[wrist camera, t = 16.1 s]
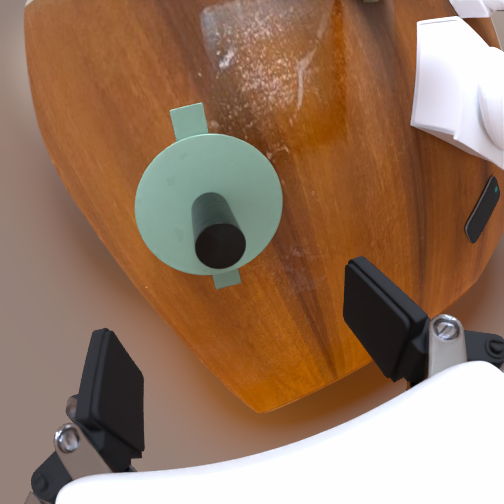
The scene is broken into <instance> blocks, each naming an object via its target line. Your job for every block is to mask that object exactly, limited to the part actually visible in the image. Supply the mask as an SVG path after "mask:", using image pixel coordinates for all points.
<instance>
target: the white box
mask: <svg viewBox="0 0 504 504" xmlns="http://www.w3.org/2000/svg"><path fill="white" fill-rule="evenodd" d="M410 125H411V126H413V127H415V128H418V129H420V130H422V131H425V132H427V133H429V134H431V135H433V136H435V137H437V138H440V139H442V140H444V141H446V142H448V143H450V144H452V145H454V146H455V147H457V148H459V149H461V150H463V151H465V152H467V153H468V154H471V155H474V156H477V157H480V158H482V159H485V160H488V161H490V162H492V163H494V164H495V165H496V166H498V167H499V168H501V169H502V170H504V53H503V52H502V51H501V50H499V49H497V48H494V47H489V46H488V45H487V44H486V43H485V42H484V40H483V39H482V38H481V37H480V36H479V35H478V34H477V33H476V32H475V31H474V30H473V29H472V28H471V27H470V26H469V25H468V24H467V23H466V22H465V21H464V20H462V19H460V18H459V17H447V18H439V19H431V20H425V21H419V22H417V63H416V79H415V90H414V100H413V109H412V116H411V124H410Z"/></svg>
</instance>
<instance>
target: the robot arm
mask: <svg viewBox="0 0 504 504" xmlns="http://www.w3.org/2000/svg"><path fill="white" fill-rule="evenodd" d="M343 317H344V320H345V322H346V324H347V325H348V326H349V328H350V329H351V330H352V332H353V333H354V334H355V336H356V337H357V338H358V340H359V341H360V342H361V344H362V345H363V346H364V348H365V349H366V350H367V352H368V353H369V354H370V356H371V357H372V359H373V360H374V361H375V363H376V364H377V365H378V367H379V368H380V369H381V371H382V372H383V374H384V375H385V376H386V377H387V378H391V379H392V380H393V382H396V381H398V380H400V379H401V378H403V377H404V378H405V379H406V380H407V389H406V392H404V393H402V394H401V395H399V396H397V397H395V398H393V399H392V400H390V401H388V402H386V403H384V404H382V405H380V406H379V407H377V408H375V409H373V410H371V411H369V412H367V413H365V414H363V415H361V416H359V417H357V418H355V419H353V420H350V421H348V422H346V423H343V424H341V425H339V426H337V427H334V428H332V429H329V430H327V431H325V432H322V433H319V434H317V435H314V436H312V437H309V438H306V439H304V440H301V441H298V442H295V443H292V444H289V445H286V446H283V447H279V448H276V449H273V450H270V451H266V452H262V453H259V454H255V455H251V456H247V457H243V458H239V459H234V460H229V461H224V462H220V463H214V464H208V465H203V466H196V467H189V468H181V469H172V470H161V471H148V472H137V471H136V470H135V468H134V467H132V465H131V459H132V458H142V451H144V448H145V445H144V417H143V416H144V413H143V394H144V388H143V387H144V378H143V375H142V373H141V371H140V370H139V368H138V367H137V366H136V364H135V363H134V361H133V360H132V359H131V357H130V356H129V354H128V353H127V352H126V350H125V348H124V347H123V345H122V344H121V343H120V341H119V339H118V338H117V336H116V335H115V333H114V332H113V331H110V330H109V329H107V328H104V329H99V330H95V331H94V332H93V333H92V337H91V340H90V345H89V348H88V352H87V356H86V360H85V365H84V369H83V374H82V379H81V384H80V389H79V394H78V400H77V405H76V412H75V424H74V423H66V424H63V425H62V426H60V427H59V428H58V430H57V431H56V433H55V435H54V447H55V450H56V451H55V452H54V453H53V454H52V455H51V456H50V457H49V458H48V459H47V460H46V461H45V462H44V463H43V464H42V465H41V466H40V467H39V468H38V469H37V470H36V471H35V472H34V473H33V475H32V478H31V485H32V489H33V492H31V491H30V492H29V495H28V497H27V499H26V501H25V503H24V504H504V339H503V338H502V337H501V336H499V335H496V334H490V333H481V332H474V331H467V330H464V329H463V326H462V324H461V323H460V321H459V320H458V319H456V318H455V317H453V316H451V315H447V314H440V315H437V316H435V317H434V318H432V320H431V319H430V318H429V317H428V315H427V314H426V313H425V312H424V311H423V310H422V309H421V308H420V307H419V306H418V305H417V304H416V303H415V302H414V301H413V300H411V299H410V298H409V297H408V296H407V295H406V294H405V293H404V292H403V291H402V290H401V289H400V288H399V287H397V286H396V285H395V284H394V283H393V282H392V281H391V280H390V279H389V278H388V277H386V276H385V275H384V274H383V273H382V272H381V271H380V270H379V269H377V268H376V267H375V266H374V265H373V264H372V263H370V262H369V261H368V260H367V259H366V258H365V257H363V256H360V257H357V258H354V259H351V260H349V262H348V265H346V266H345V285H344V306H343Z"/></svg>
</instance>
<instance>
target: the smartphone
mask: <svg viewBox="0 0 504 504" xmlns="http://www.w3.org/2000/svg"><path fill="white" fill-rule="evenodd" d="M499 196H500V190H499V186H498V183H497V180H496V178H495V177H494V176H492V177H491V178H490V179H489V181H488V183H487V185H486V187H485V189H484V191H483V193H482V195H481V197H480V199H479V201H478V203H477V205H476V207H475V209H474V211H473V212H472V214H471V216H470V218H469V220H468V221H467V223H466V226H465V232H466V234H467V236H468V238H469V240H470V242H471V243H475V242H476V241H477V239H478V238H479V236H480V234H481V232H482V231H483V229H484V227H485V225H486V223H487V221H488V220H489V218H490V216H491V214H492V212H493V210H494V208H495V206H496V204H497V202H498V199H499Z"/></svg>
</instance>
